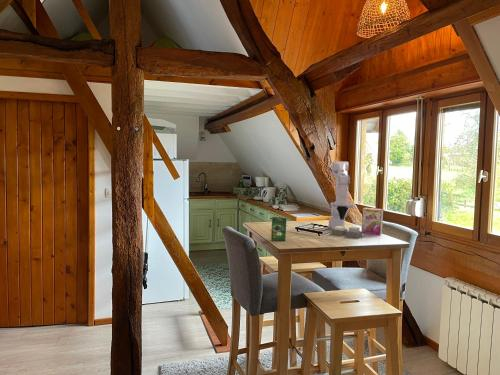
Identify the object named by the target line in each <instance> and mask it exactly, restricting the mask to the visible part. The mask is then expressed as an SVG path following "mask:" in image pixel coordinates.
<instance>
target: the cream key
mask: <svg viewBox="0 0 500 375" xmlns="http://www.w3.org/2000/svg"><path fill="white" fill-rule="evenodd" d="M345 229H346V227H341V226H336V227H335V228H334V230H341V231H342V230H345Z"/></svg>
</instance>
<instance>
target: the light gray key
mask: <svg viewBox="0 0 500 375" xmlns="http://www.w3.org/2000/svg"><path fill="white" fill-rule="evenodd" d="M348 231H349V232H354V233H358V232H359V231H361V230H360V227H358V226H350V227H348Z"/></svg>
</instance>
